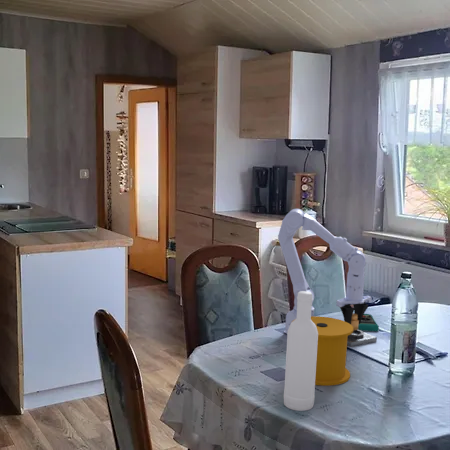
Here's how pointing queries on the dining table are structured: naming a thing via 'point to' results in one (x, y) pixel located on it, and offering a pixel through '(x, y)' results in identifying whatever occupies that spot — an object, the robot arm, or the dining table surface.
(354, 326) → the orange rounded knob
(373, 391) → the dining table surface
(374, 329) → the digital multimeter
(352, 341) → the junction plate
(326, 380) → the spool
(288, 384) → the bottle
